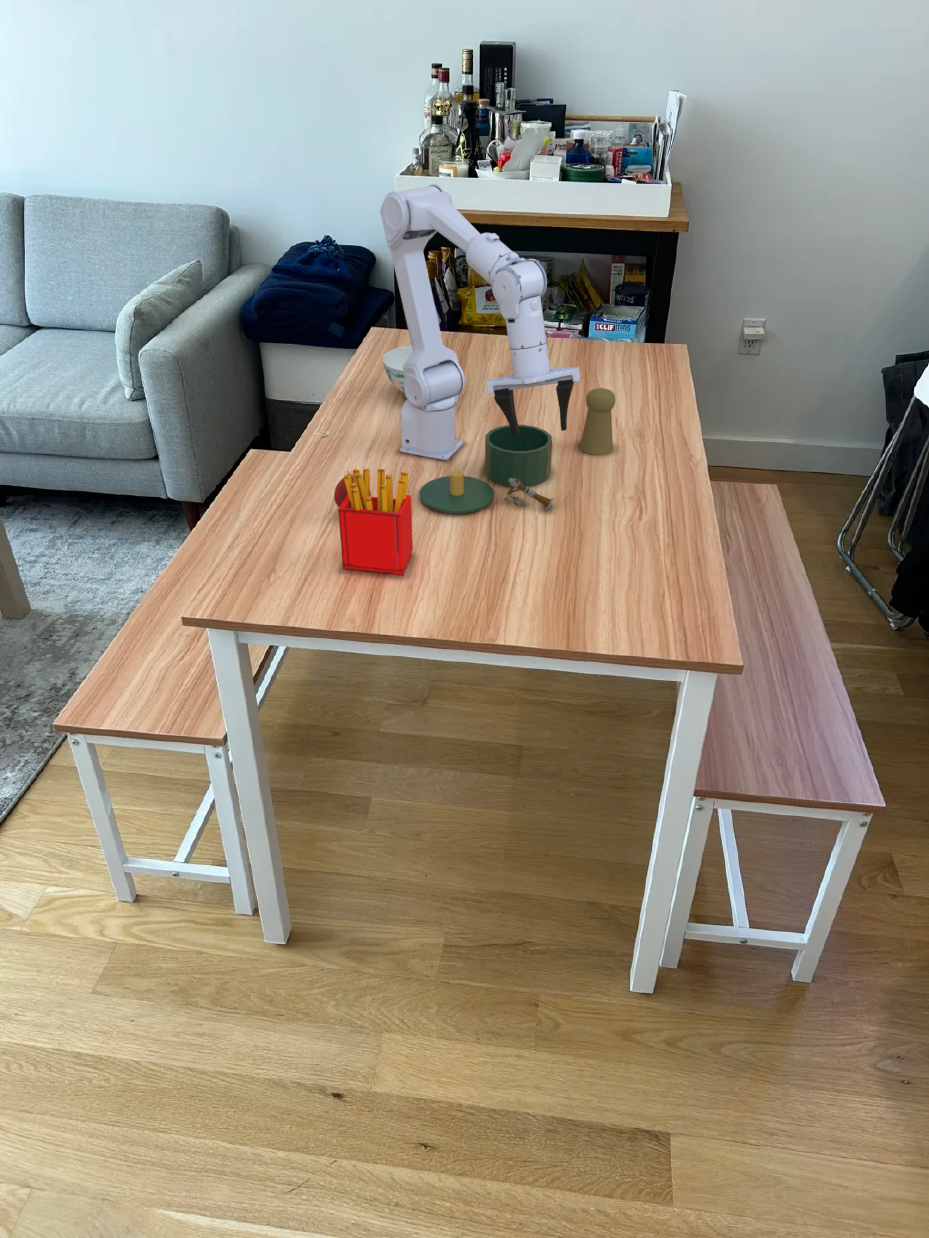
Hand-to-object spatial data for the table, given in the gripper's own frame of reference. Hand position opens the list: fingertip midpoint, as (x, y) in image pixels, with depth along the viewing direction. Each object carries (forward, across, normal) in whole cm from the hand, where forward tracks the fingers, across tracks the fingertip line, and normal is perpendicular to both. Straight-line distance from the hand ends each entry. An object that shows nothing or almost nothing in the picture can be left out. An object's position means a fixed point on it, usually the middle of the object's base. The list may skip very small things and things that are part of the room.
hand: (540, 432), depth 153 cm
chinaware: (-2, -28, +42) cm, 51 cm away
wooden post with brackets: (+12, -4, 0) cm, 13 cm away
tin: (+9, -6, +12) cm, 16 cm away
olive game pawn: (+10, +7, +24) cm, 27 cm away
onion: (+8, -31, -8) cm, 33 cm away
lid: (+9, -15, 0) cm, 18 cm away
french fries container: (+12, -24, -21) cm, 34 cm away
